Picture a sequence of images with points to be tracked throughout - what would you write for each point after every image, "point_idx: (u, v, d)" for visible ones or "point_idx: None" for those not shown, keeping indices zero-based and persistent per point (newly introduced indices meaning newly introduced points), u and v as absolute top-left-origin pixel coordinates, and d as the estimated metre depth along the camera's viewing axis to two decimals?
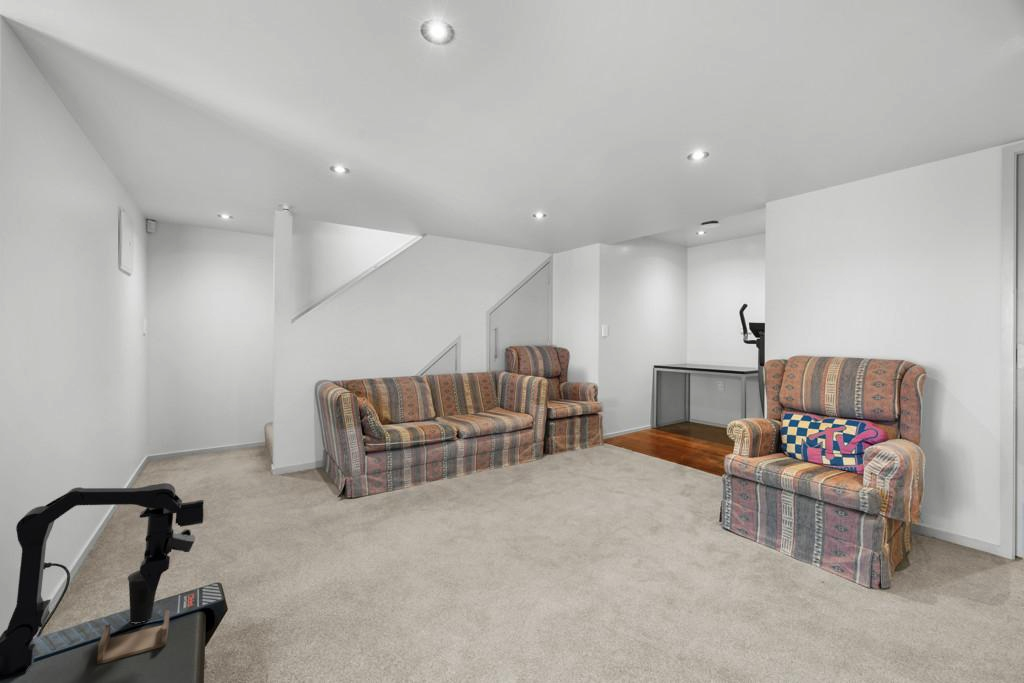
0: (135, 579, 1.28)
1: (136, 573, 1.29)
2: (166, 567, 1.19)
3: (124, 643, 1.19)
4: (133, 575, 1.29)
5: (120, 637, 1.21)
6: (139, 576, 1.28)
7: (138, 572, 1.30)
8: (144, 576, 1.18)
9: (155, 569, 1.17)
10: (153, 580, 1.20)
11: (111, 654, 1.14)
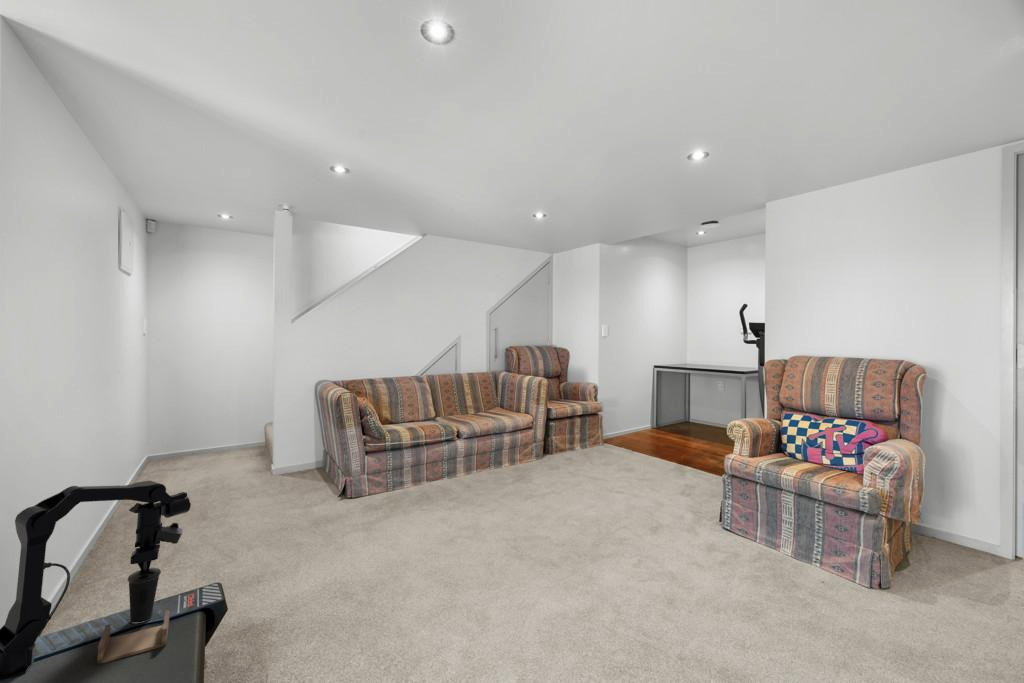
0: (135, 580, 1.27)
1: (136, 574, 1.29)
2: (155, 557, 1.28)
3: (124, 643, 1.19)
4: (133, 576, 1.28)
5: (120, 637, 1.21)
6: (139, 577, 1.28)
7: (138, 573, 1.29)
8: None
9: (145, 559, 1.27)
10: None
11: (111, 654, 1.14)
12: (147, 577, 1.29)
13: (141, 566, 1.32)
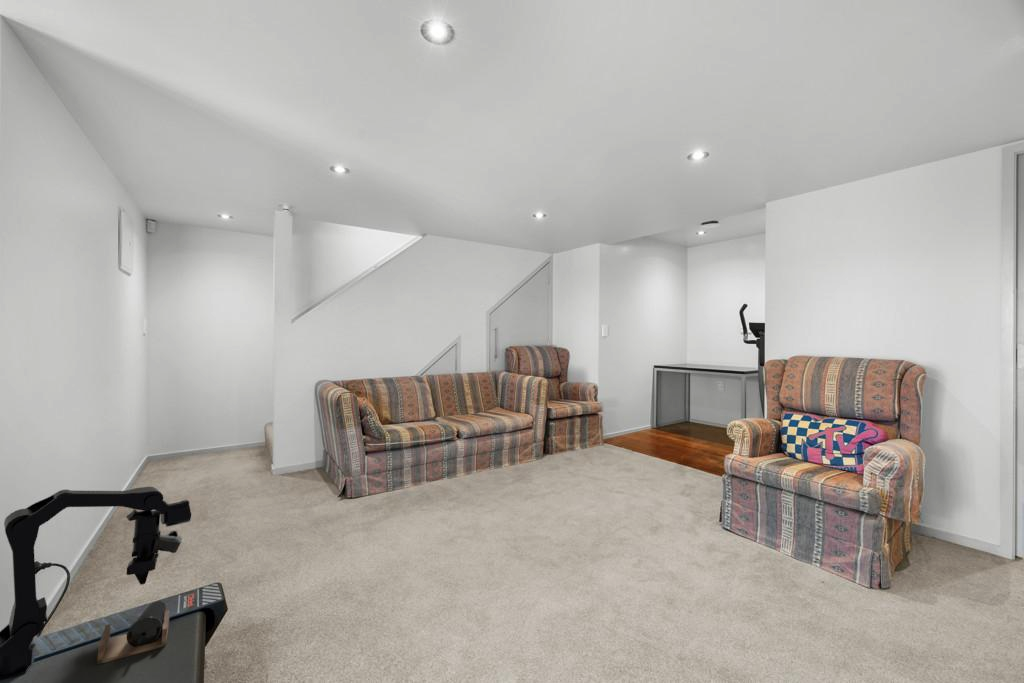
0: (130, 641, 1.17)
1: (134, 634, 1.17)
2: (152, 568, 1.23)
3: (124, 643, 1.19)
4: (131, 634, 1.17)
5: (120, 637, 1.21)
6: (133, 642, 1.17)
7: (136, 634, 1.17)
8: None
9: (142, 570, 1.21)
10: (142, 573, 1.27)
11: (111, 654, 1.14)
12: (141, 643, 1.18)
13: (138, 576, 1.27)
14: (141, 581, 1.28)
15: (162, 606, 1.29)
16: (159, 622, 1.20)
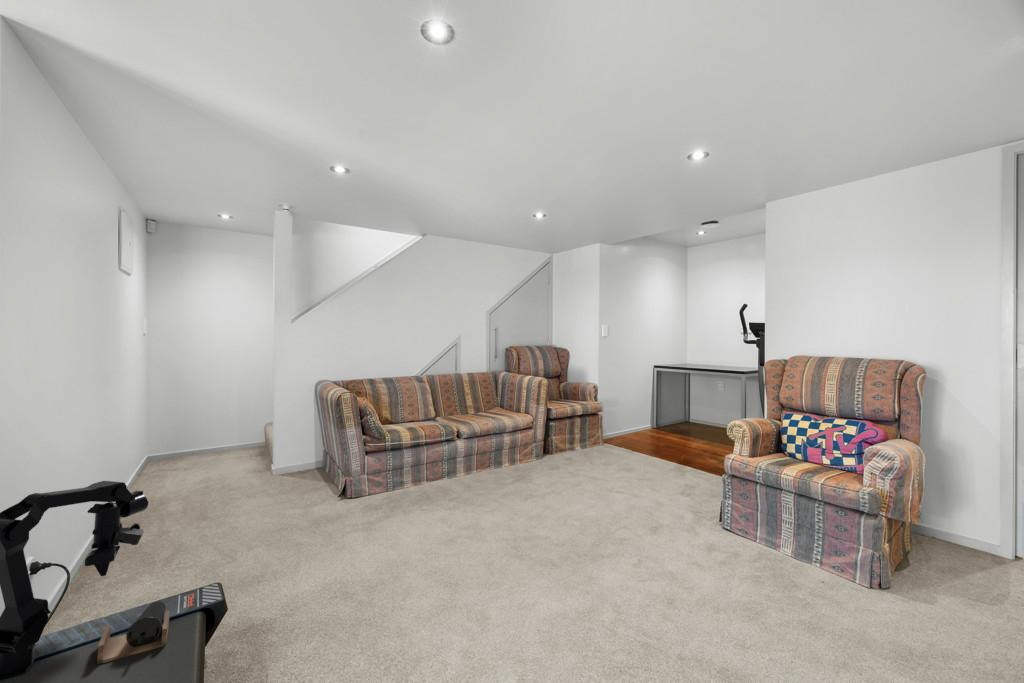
0: (129, 641, 1.17)
1: (134, 634, 1.17)
2: (111, 559, 1.24)
3: (124, 643, 1.19)
4: (131, 634, 1.17)
5: (120, 637, 1.21)
6: (133, 642, 1.17)
7: (136, 634, 1.17)
8: None
9: (100, 561, 1.23)
10: (102, 565, 1.29)
11: (111, 654, 1.14)
12: (141, 643, 1.18)
13: (98, 568, 1.28)
14: (101, 573, 1.29)
15: (162, 606, 1.29)
16: (158, 622, 1.20)
